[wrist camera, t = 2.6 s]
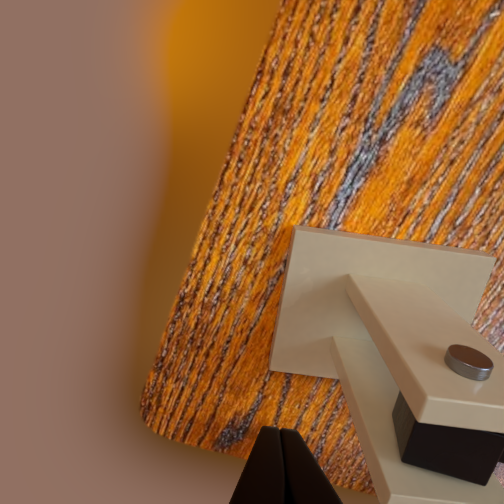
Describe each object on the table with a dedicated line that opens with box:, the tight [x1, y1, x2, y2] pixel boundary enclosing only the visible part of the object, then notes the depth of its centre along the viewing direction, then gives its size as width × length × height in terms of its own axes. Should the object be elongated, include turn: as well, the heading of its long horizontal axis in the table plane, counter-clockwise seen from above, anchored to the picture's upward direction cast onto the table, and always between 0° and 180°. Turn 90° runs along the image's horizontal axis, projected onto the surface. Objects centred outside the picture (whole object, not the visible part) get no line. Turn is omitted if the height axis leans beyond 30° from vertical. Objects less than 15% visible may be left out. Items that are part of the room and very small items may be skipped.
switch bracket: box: [269, 225, 504, 504], centre depth 16 cm, size 11×9×11 cm
